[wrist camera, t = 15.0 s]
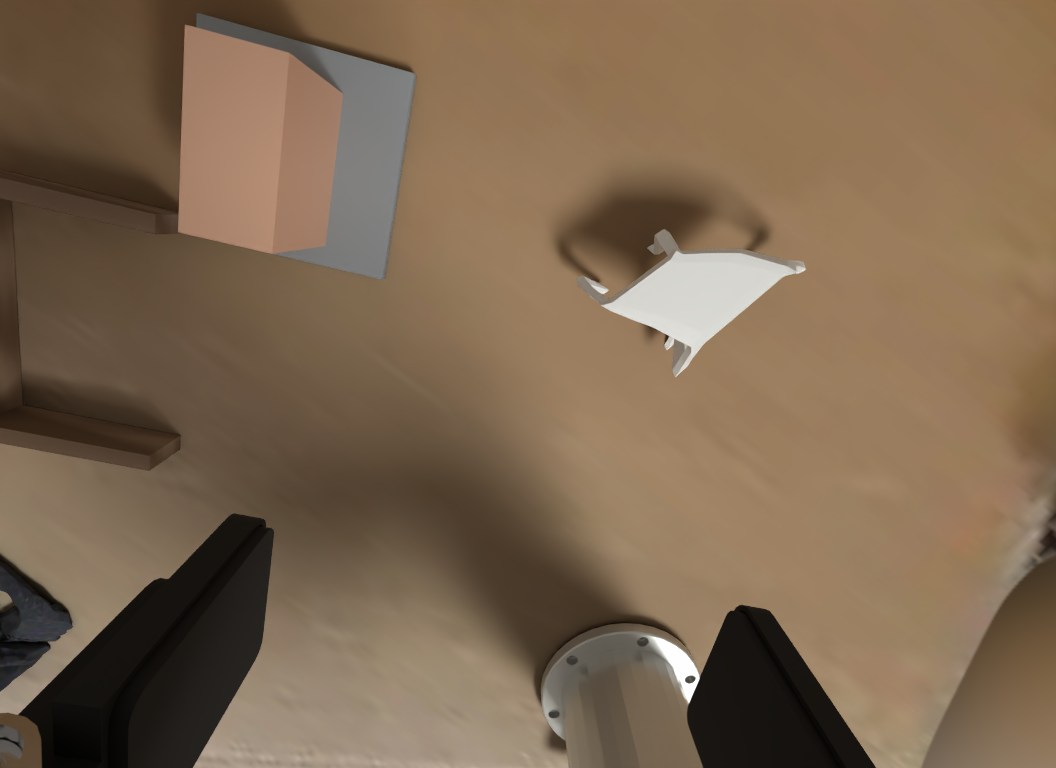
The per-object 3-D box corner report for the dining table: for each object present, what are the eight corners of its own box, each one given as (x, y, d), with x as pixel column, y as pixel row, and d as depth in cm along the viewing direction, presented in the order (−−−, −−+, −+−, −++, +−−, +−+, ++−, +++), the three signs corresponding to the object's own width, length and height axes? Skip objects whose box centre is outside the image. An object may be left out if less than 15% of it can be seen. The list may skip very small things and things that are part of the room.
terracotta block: (343, 93, 27) (289, 53, 20) (325, 245, 29) (272, 253, 23) (265, 73, 27) (184, 24, 20) (253, 229, 29) (177, 232, 22)
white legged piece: (622, 385, 33) (640, 412, 29) (568, 268, 31) (579, 277, 26) (796, 303, 32) (845, 317, 28) (754, 175, 30) (800, 166, 25)
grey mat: (384, 278, 31) (382, 279, 30) (193, 233, 29) (187, 234, 29) (416, 76, 27) (414, 73, 27) (203, 16, 26) (196, 12, 26)
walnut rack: (179, 449, 33) (149, 470, 31) (6, 416, 32) (-42, 435, 29) (189, 214, 29) (155, 214, 26) (-11, 167, 28) (-69, 161, 25)
